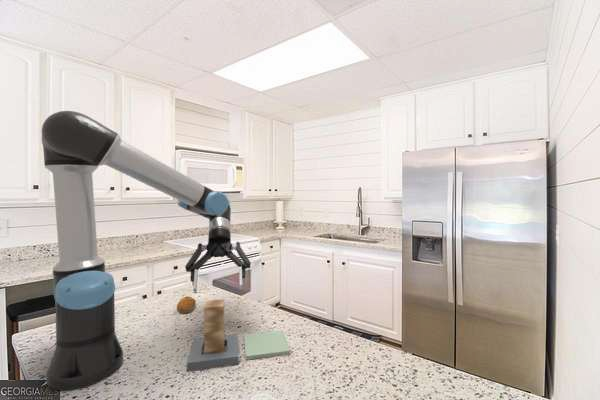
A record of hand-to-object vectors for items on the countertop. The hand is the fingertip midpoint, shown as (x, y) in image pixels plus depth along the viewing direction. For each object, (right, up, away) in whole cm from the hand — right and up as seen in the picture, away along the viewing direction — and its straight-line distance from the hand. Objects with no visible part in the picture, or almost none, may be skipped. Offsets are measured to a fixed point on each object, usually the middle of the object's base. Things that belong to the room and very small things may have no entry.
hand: (218, 289), depth 87 cm
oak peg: (+2, -15, -9) cm, 18 cm away
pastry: (-18, -15, +22) cm, 32 cm away
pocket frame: (+2, -15, -9) cm, 18 cm away
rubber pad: (+15, -15, -5) cm, 22 cm away
